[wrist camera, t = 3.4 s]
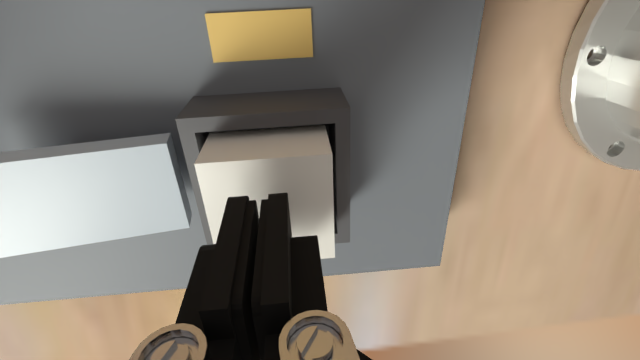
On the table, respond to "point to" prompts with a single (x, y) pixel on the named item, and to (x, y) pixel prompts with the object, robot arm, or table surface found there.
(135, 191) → the rocker switch
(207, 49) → the switch panel
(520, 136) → the table surface
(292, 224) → the push button
